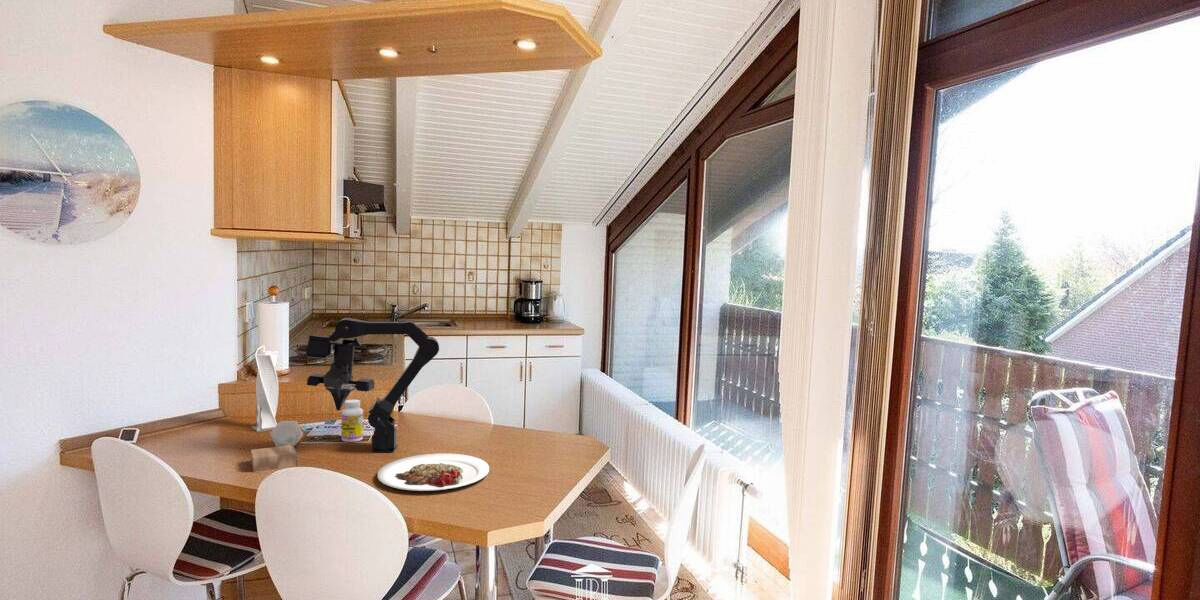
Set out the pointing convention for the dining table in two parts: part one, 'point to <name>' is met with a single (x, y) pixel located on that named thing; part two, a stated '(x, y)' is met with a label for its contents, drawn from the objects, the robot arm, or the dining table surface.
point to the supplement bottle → (352, 422)
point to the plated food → (433, 472)
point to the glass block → (273, 458)
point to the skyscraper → (266, 390)
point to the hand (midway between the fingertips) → (338, 410)
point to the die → (286, 433)
